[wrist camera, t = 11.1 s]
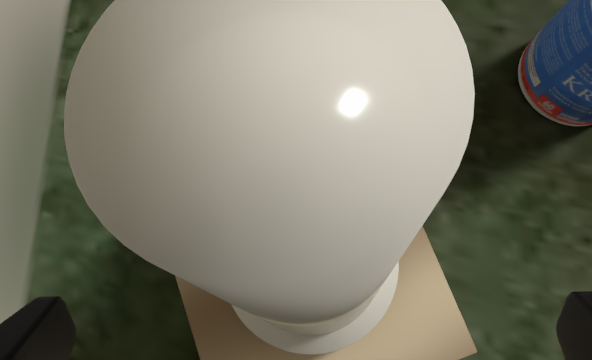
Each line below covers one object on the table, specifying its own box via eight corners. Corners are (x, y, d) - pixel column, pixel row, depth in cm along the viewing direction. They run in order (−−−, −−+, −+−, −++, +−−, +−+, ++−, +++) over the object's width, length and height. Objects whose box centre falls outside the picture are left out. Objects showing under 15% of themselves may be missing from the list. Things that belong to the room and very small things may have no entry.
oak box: (446, 340, 21) (477, 351, 18) (242, 420, 21) (227, 450, 17) (364, 147, 24) (376, 119, 20) (178, 215, 23) (152, 200, 19)
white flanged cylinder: (428, 294, 17) (649, 148, 5) (281, 390, 17) (137, 482, 4) (335, 161, 20) (338, -159, 7) (202, 240, 19) (-41, 28, 7)
